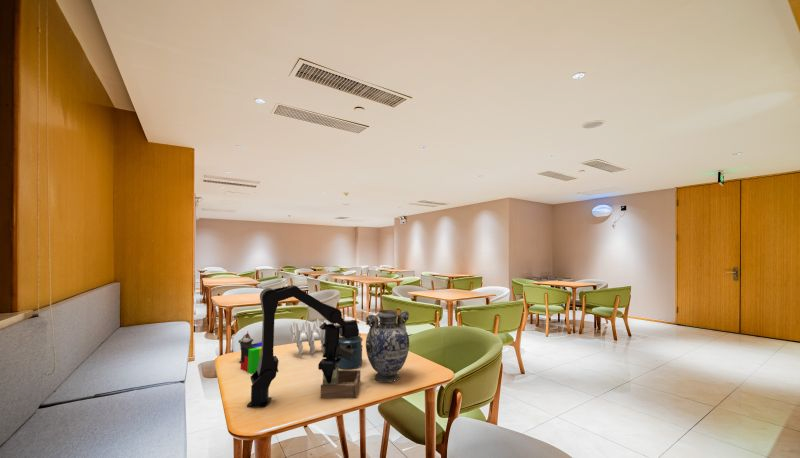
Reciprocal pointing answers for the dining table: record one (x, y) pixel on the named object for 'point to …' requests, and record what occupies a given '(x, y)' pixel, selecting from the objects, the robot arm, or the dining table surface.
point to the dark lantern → (245, 340)
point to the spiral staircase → (308, 334)
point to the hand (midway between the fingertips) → (330, 380)
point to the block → (334, 377)
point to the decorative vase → (387, 343)
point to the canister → (357, 353)
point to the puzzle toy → (250, 357)
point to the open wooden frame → (343, 390)
